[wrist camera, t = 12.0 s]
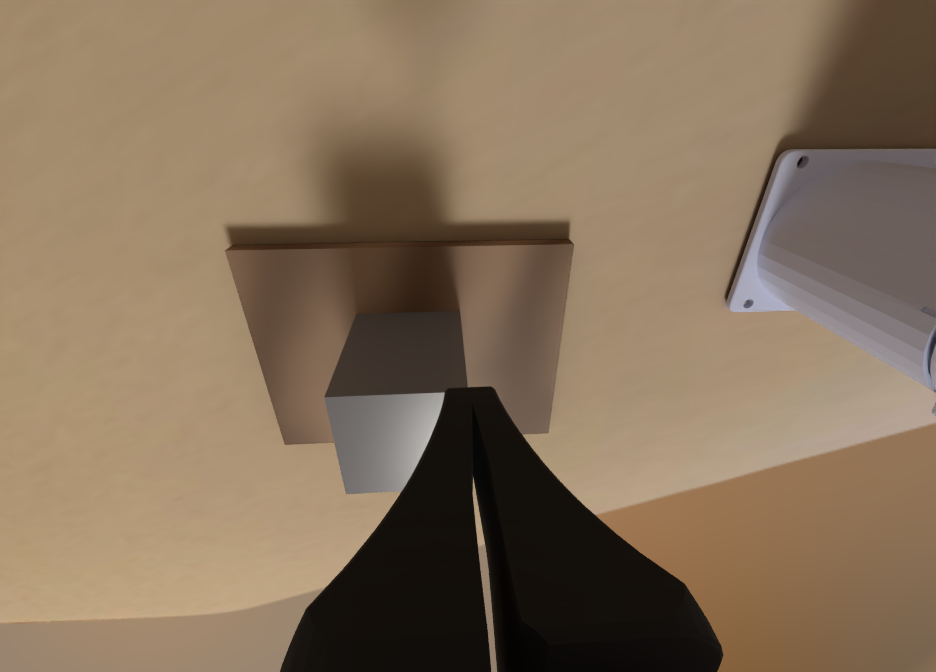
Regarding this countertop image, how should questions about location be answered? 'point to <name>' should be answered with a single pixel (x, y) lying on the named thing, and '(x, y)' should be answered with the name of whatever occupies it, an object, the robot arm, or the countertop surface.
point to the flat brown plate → (399, 291)
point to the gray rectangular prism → (392, 394)
